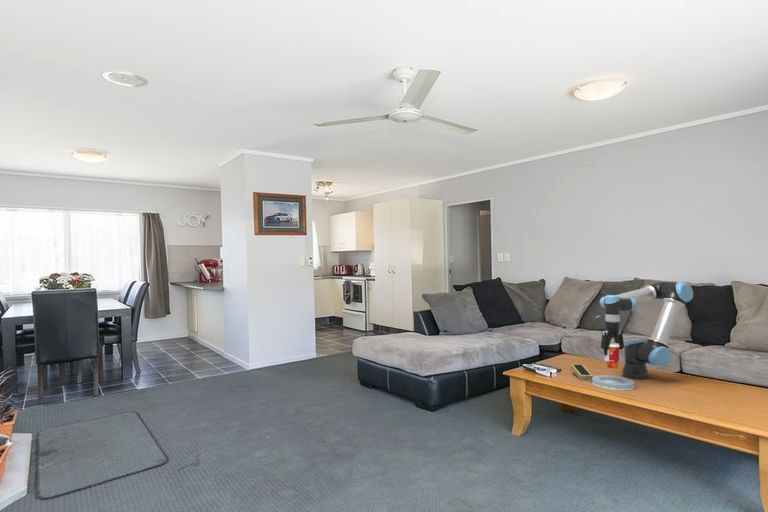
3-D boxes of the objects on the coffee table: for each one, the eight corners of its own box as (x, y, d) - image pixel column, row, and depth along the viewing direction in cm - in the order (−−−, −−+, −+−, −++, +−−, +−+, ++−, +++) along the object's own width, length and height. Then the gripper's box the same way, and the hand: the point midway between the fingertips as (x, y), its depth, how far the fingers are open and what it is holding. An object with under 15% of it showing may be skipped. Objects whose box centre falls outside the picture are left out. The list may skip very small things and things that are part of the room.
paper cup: (602, 365, 261) (602, 342, 261) (616, 365, 261) (615, 342, 261) (609, 368, 253) (609, 344, 254) (622, 369, 253) (622, 344, 253)
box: (582, 370, 286) (582, 363, 285) (596, 386, 264) (596, 378, 263) (569, 370, 287) (569, 363, 286) (582, 385, 264) (582, 378, 264)
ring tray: (612, 379, 271) (612, 374, 271) (643, 388, 250) (643, 383, 250) (584, 381, 264) (583, 376, 264) (613, 391, 243) (613, 386, 243)
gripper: (603, 322, 251) (603, 362, 250) (631, 321, 257) (631, 360, 257) (593, 321, 258) (593, 360, 258) (620, 320, 264) (621, 358, 264)
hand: (612, 360), depth 257 cm, fingers closed on paper cup, 8 cm apart
